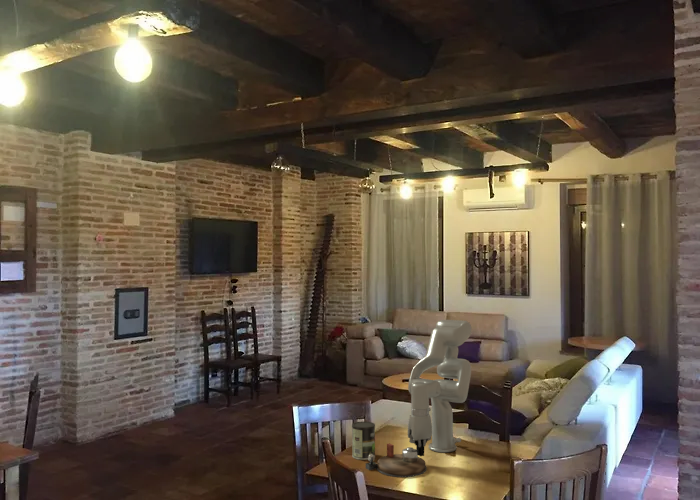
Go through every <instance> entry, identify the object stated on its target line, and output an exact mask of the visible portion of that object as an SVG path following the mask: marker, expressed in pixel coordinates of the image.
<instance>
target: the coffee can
mask: <svg viewBox="0 0 700 500" xmlns="http://www.w3.org/2000/svg"><path fill="white" fill-rule="evenodd" d="M375 430H376V424H375V423H374V422H371V421H355V422H353V423H352V424H351V432H352V435H351V436H352V446H351V447H352V454H351V455H352V458H353V459H355V460H361V461H367V460H368V456H369V455H370V454H373V455H374V456H375V457H376V438H375V437H376V435H375V434H376V431H375ZM368 461H369V460H368Z"/></svg>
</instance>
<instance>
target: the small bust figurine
mask: <svg viewBox="0 0 700 500" xmlns="http://www.w3.org/2000/svg"><path fill="white" fill-rule="evenodd" d="M375 459H376V455H375V456H374V455H373V454H370V455H369V456H368V462H366V463H365V469H366V470H368V471H372V470H377V464H378V462H375Z"/></svg>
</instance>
